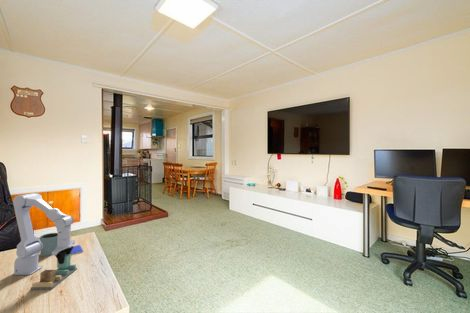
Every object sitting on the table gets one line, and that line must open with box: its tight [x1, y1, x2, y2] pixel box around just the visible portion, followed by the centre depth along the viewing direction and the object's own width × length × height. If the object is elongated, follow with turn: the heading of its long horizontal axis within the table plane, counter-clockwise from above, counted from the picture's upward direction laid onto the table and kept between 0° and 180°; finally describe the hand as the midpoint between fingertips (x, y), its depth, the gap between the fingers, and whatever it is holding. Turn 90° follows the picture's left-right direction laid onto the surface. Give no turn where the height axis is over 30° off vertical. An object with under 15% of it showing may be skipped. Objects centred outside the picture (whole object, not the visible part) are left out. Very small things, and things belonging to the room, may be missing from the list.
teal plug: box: [56, 254, 72, 269], centre depth 117 cm, size 5×3×6 cm, turn 94°
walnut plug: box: [39, 269, 57, 283], centre depth 106 cm, size 5×3×6 cm, turn 94°
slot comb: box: [30, 264, 78, 291], centre depth 112 cm, size 10×18×3 cm, turn 4°
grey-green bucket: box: [39, 232, 58, 257], centre depth 140 cm, size 10×10×12 cm
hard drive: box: [70, 244, 84, 256], centre depth 144 cm, size 2×8×12 cm
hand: (63, 262), depth 117 cm, fingers closed on teal plug, 3 cm apart
